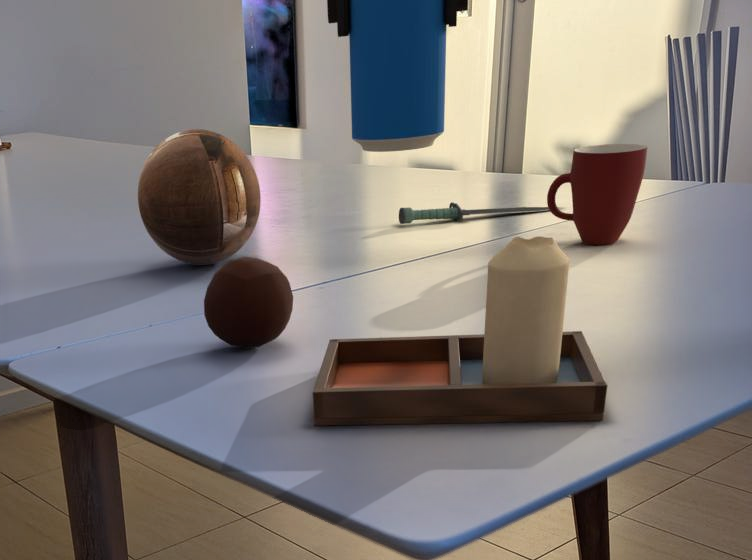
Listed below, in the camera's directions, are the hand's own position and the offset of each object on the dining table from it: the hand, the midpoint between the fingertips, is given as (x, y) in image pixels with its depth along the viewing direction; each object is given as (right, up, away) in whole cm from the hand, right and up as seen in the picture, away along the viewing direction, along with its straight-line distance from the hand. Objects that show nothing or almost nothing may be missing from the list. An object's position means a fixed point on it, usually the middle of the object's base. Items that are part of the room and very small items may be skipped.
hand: (397, 28), depth 61 cm
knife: (+21, +19, +68) cm, 74 cm away
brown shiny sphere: (-17, +7, +55) cm, 58 cm away
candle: (+10, -22, +7) cm, 25 cm away
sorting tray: (+5, -22, +8) cm, 24 cm away
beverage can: (+1, -6, +4) cm, 7 cm away
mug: (+30, +7, +49) cm, 58 cm away
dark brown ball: (-10, -14, +23) cm, 29 cm away
